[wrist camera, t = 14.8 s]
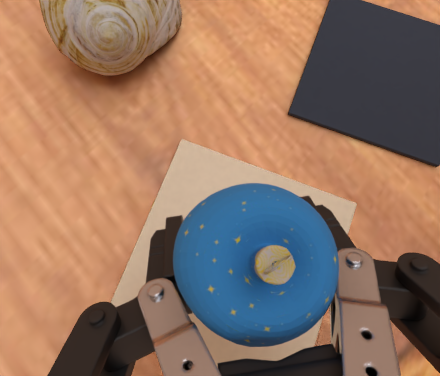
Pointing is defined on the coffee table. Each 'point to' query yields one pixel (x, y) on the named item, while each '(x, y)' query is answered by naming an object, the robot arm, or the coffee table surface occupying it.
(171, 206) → the cream mat
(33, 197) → the coffee table surface
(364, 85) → the slate mat
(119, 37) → the seashell
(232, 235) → the ornament
